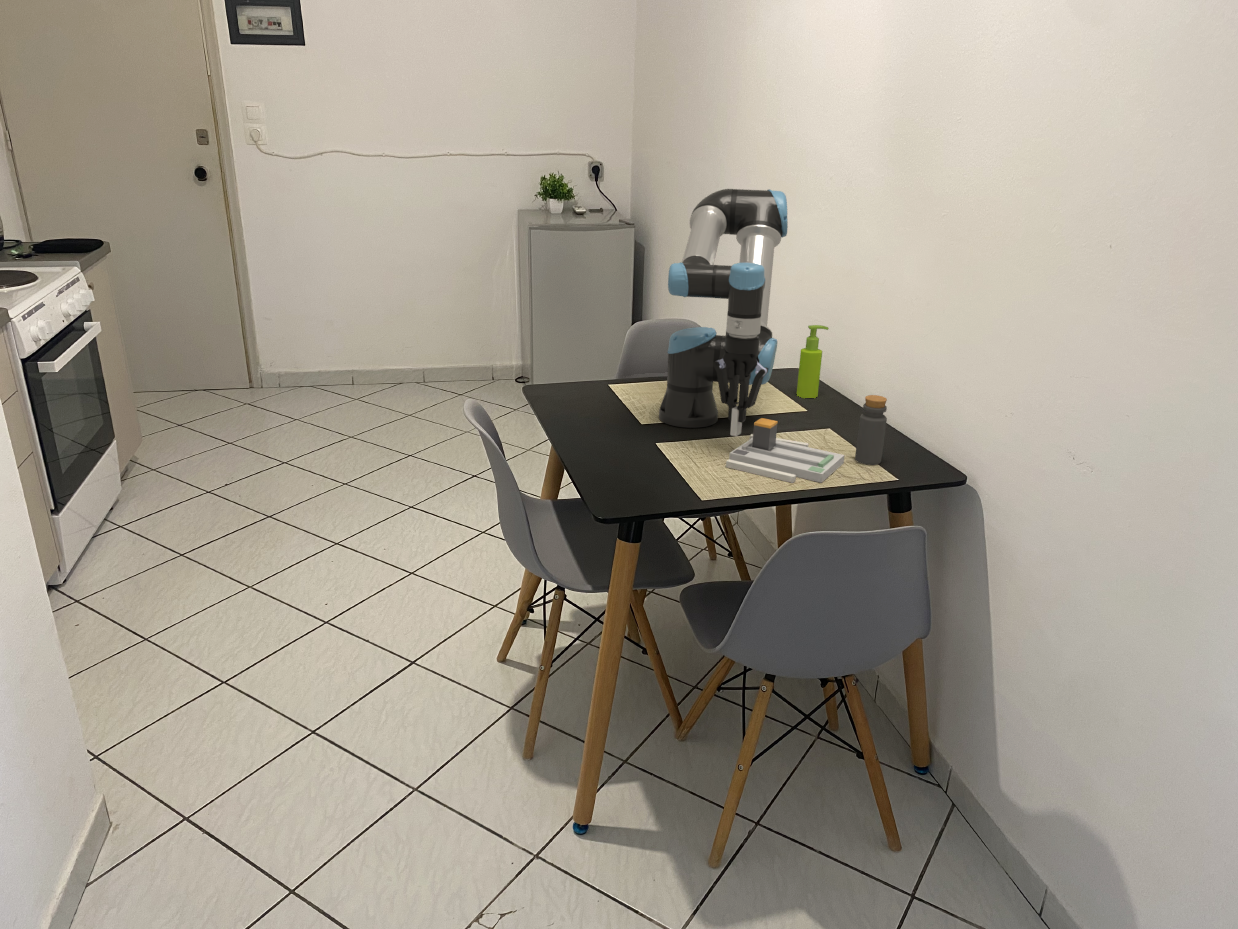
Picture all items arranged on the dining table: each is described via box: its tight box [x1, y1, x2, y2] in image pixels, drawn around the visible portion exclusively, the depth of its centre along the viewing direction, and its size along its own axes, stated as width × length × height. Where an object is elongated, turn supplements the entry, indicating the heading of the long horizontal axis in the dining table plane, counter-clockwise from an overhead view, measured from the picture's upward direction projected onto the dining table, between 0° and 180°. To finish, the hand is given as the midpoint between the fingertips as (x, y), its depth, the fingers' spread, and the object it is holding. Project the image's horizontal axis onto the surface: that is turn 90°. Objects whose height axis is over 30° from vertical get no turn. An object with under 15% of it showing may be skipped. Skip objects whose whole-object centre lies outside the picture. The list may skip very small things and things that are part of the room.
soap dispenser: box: [796, 324, 830, 399], centre depth 245 cm, size 6×7×20 cm
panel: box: [728, 438, 845, 483], centre depth 200 cm, size 22×14×3 cm, turn 57°
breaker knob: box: [752, 417, 778, 451], centre depth 202 cm, size 4×4×6 cm
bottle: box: [854, 394, 888, 466], centre depth 200 cm, size 6×6×15 cm
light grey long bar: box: [725, 458, 797, 484], centre depth 194 cm, size 16×1×1 cm, turn 57°
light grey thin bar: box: [748, 433, 809, 447], centre depth 211 cm, size 14×1×1 cm, turn 65°
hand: (735, 434), depth 206 cm, fingers closed
